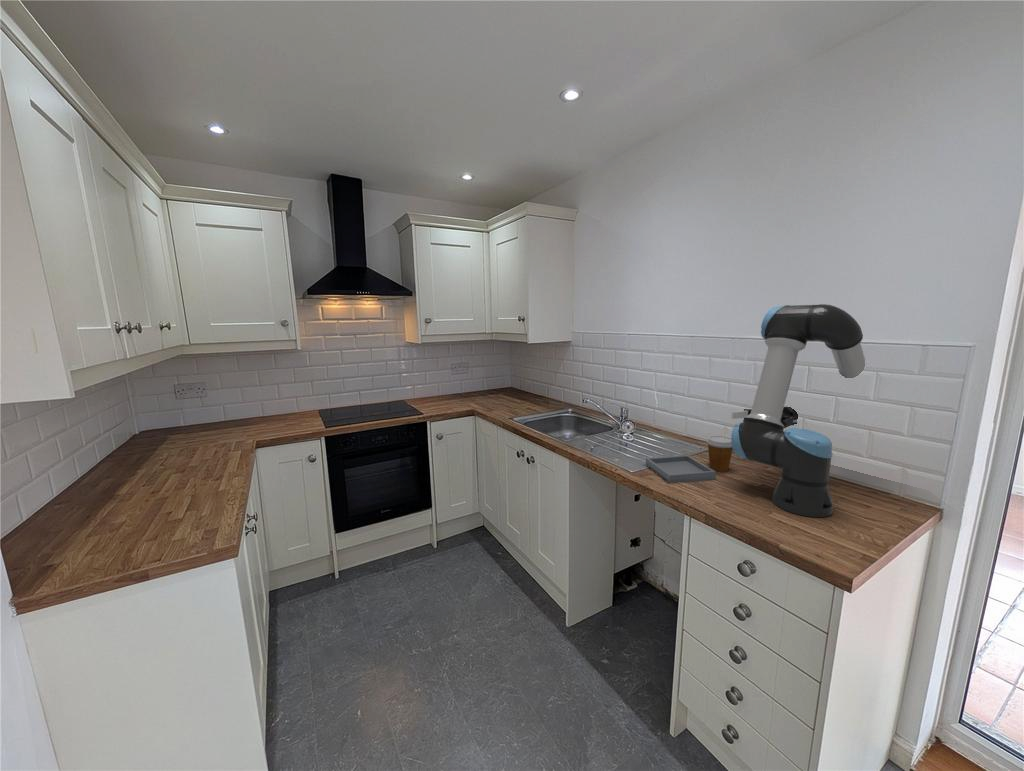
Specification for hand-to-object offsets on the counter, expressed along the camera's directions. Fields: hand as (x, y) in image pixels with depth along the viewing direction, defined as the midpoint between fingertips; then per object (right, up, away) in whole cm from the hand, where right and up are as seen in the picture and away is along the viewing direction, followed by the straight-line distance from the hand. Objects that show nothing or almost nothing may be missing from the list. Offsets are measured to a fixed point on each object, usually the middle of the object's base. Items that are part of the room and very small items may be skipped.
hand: (744, 419), depth 152 cm
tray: (-25, -20, 0) cm, 32 cm away
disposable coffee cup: (-9, -19, +2) cm, 22 cm away
